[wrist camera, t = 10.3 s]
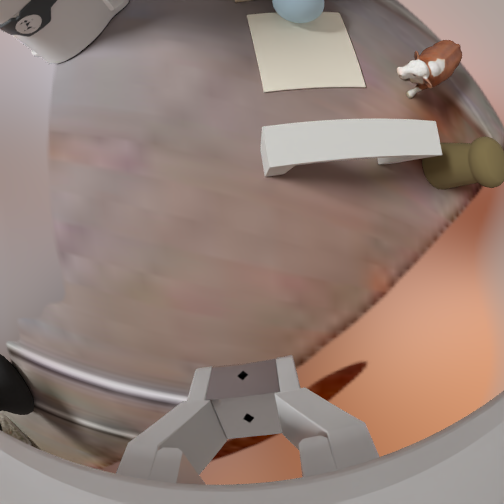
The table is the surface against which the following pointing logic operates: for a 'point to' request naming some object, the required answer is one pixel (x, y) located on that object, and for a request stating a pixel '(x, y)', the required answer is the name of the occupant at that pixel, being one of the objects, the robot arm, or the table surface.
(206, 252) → the table surface
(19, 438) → the ceramic cottage
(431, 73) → the bull figurine
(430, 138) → the bridge
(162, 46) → the table surface
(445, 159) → the olive tall rounded piece
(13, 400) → the candelabra
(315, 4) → the ball
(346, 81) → the blank cream square sheet
